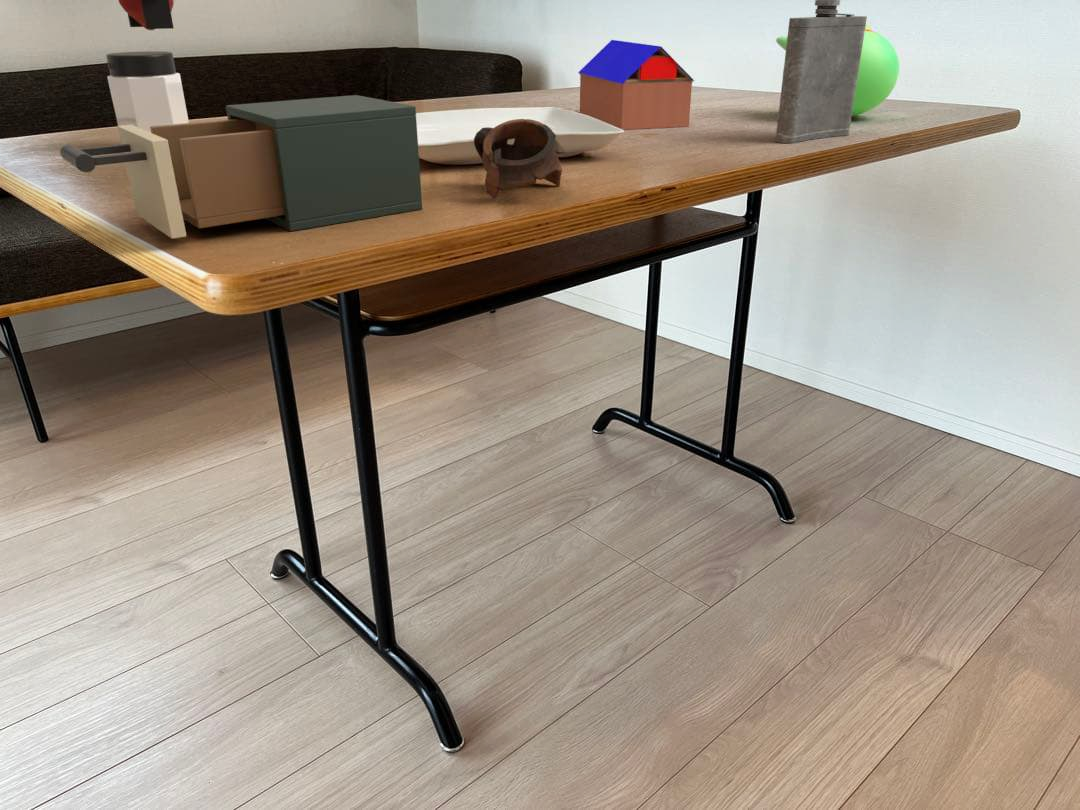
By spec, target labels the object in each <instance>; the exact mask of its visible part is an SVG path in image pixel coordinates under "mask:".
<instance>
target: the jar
mask: <svg viewBox="0 0 1080 810" xmlns="http://www.w3.org/2000/svg"><path fill="white" fill-rule="evenodd" d="M106 61H107V62H106V65H107V68H108V70H109V75H107V83H108V87H109V91H110V96H111V100H112V101H111V102H112V104H113V109H114V110H113V111H114V113H115V118H116V123H117V126H121V125H133V126H136V127H138V128H140V129H143V130H145V131H147V132H150V133H151V130H150V127H151V126H161V125H173V124H184V123H190V121H189V116H188V115H189V114H188V111H187V105H186V100H185V99H186V98H185V95H184V89H183V84H182V78H181V73H180V72H177V69H176V65H175V59H174V53H172V52H171V51H125V52H112V53H111V52H110V53H107V54H106Z"/></svg>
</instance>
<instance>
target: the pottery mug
mask: <svg viewBox="0 0 1080 810" xmlns="http://www.w3.org/2000/svg"><path fill="white" fill-rule="evenodd" d="M555 138H556V135H555V133H554V132H553V131H552V130H551V129H550V128H549V127H548V126H547V125H545V124H542V123H540V122H538V121H535V120H530V119H526V120H525V119H515V120H510V121H507V122H504V123H502V124H499V125H498V126H496V127H494V128H489V127H486V128H482V129H481V130H480V131H478V132H477V133H476V135H475V138H474V145H475V148H476V150H477V152H478V154H479V156H480V157H481V159H482V160H483V161H482V162H483V163H482V165H483V168H484V170H485V171H486V175H485V179H484V185H483V186H484V189H485V193H486V194H487V195H488V196H490V197H491V198H492V199H494V200H497V198H498V197H499V194H500V191H501V192H502V191H507V190H512V189H517V188H521V187H527V186H533V185H534V184H536V183H537V180H539V181H542V180H545V181H548V182H549V183H551V184H554V185H555V186H556V187H560V186H561V178H562V173H563V168H562V166H561V161H560V159H559V157H557V155H556V153H557V154H561V153H565V151H564V149H563V147H562V146H561V145H560V144H559V143H558V142H557V141H556V139H555ZM508 139H515V140H514V143H513V145H512V144H507V142H508Z"/></svg>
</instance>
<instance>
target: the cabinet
mask: <svg viewBox="0 0 1080 810" xmlns="http://www.w3.org/2000/svg"><path fill="white" fill-rule="evenodd" d="M416 108H417V107H416V106H415V105H412V104H411V105H410V104H407V103H401V102H396V101H391V100H385V99H379V98H375V97H374V98H373V97H370V96H368V97H367V96H362V95H359V94H354V95H342V96H328V97H315V98H314V97H313V98H303V99H302V98H301V99H289V100H277V101H276V100H275V101H264V102H251V103H241V104H240V103H239V104H228V105H225V110H226V114H227V115H226V117H227V120H229V119H240V118H242V119H245V120H249V121H252V122H256V123H259V124H262V125H266V126H269V127H273V133H274V140H275V147H276V154H277V161H278V168H279V175H280V182H281V189H282V196H283V203H284V210H285V215H282V216H276V217H270V218H264V219H265V220H267V221H269V222H270V223H273V224H275V225H277V226H279V227H281V228H283V229H285V230H287V231H289V232H296V231H302V230H308V229H313V228H319V227H325V226H326V227H327V226H331V225H337V224H342V223H349V222H355V221H361V220H366V219H372V218H379V217H383V216H389V215H395V214H402V213H408V212H415V211H419V210H423V197H422V183H421V167H420V158H419V152H418V137H417V122H416V113H417V109H416Z"/></svg>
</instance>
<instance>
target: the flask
mask: <svg viewBox="0 0 1080 810" xmlns="http://www.w3.org/2000/svg"><path fill="white" fill-rule="evenodd" d="M840 4H841V0H815V1H814V6H816V8H815V11H814V14H815V16H805V17H789V21H788V30H787V36H786V37H787V46H786V51H785V54H784V64H783V70H784V71H782V82H781V90H780V98H779V107H778V114H777V115H778V116H777V125H776V133H775V140H774V141H775V142H776V143H779V144H795V143H799V142H805V141H810V140H816V139H823V138H825V139H826V138H833V137H843V136H845V137H846V136H849V135H850V130H851V123H852V117H853V116H852V111H853V104H854V98H855V91H856V85H857V78H858V72H859V65H860V58H861V52H862V45H863V39H864V32H865V26H866V25H867V19H868V16H867V15H865V16H864V15H855V14H853V13H838V11H839V10H838V6H840Z"/></svg>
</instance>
